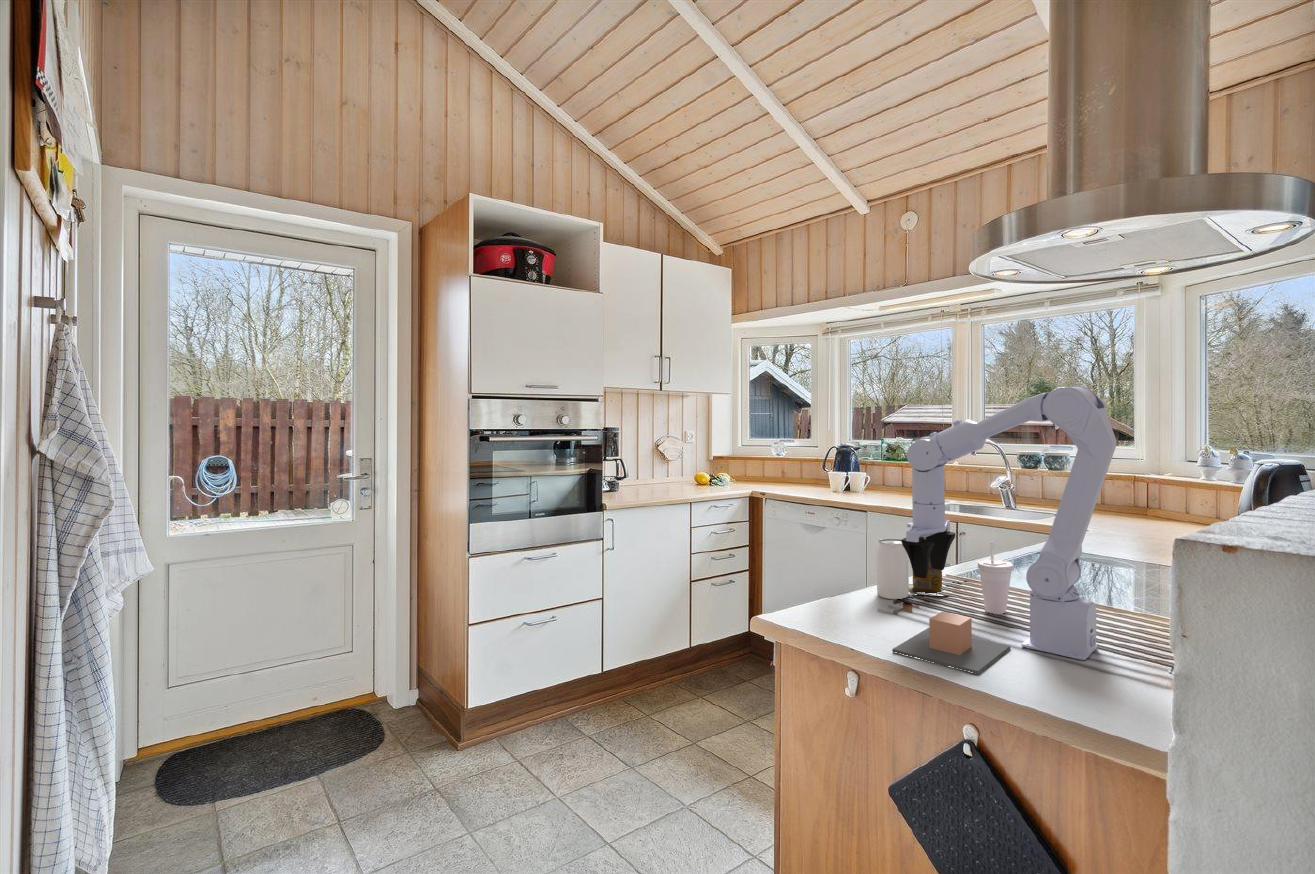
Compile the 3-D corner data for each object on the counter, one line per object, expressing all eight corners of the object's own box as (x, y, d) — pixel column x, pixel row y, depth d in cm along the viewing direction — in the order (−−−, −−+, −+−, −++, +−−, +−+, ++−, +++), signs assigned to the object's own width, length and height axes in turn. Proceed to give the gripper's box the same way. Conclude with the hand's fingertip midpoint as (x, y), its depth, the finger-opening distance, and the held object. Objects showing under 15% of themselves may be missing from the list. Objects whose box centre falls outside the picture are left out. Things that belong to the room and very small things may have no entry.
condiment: (941, 586, 152) (940, 533, 151) (948, 597, 144) (948, 541, 143) (907, 585, 153) (906, 533, 153) (912, 596, 145) (911, 541, 145)
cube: (971, 646, 114) (971, 617, 114) (959, 655, 111) (959, 625, 110) (942, 639, 118) (942, 611, 117) (929, 647, 114) (929, 618, 114)
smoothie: (972, 606, 137) (971, 538, 136) (1004, 605, 137) (1004, 537, 136) (986, 616, 130) (985, 545, 130) (1020, 616, 130) (1019, 544, 129)
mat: (1010, 649, 114) (1010, 645, 114) (977, 674, 104) (977, 670, 104) (928, 630, 124) (928, 627, 124) (892, 652, 114) (892, 648, 114)
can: (913, 599, 143) (912, 543, 142) (882, 600, 143) (881, 544, 142) (902, 591, 149) (902, 537, 148) (873, 592, 149) (872, 538, 148)
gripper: (924, 495, 135) (925, 562, 136) (890, 505, 125) (891, 577, 126) (960, 498, 130) (961, 567, 131) (927, 509, 120) (928, 583, 121)
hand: (929, 573), depth 128 cm, fingers open, 7 cm apart
